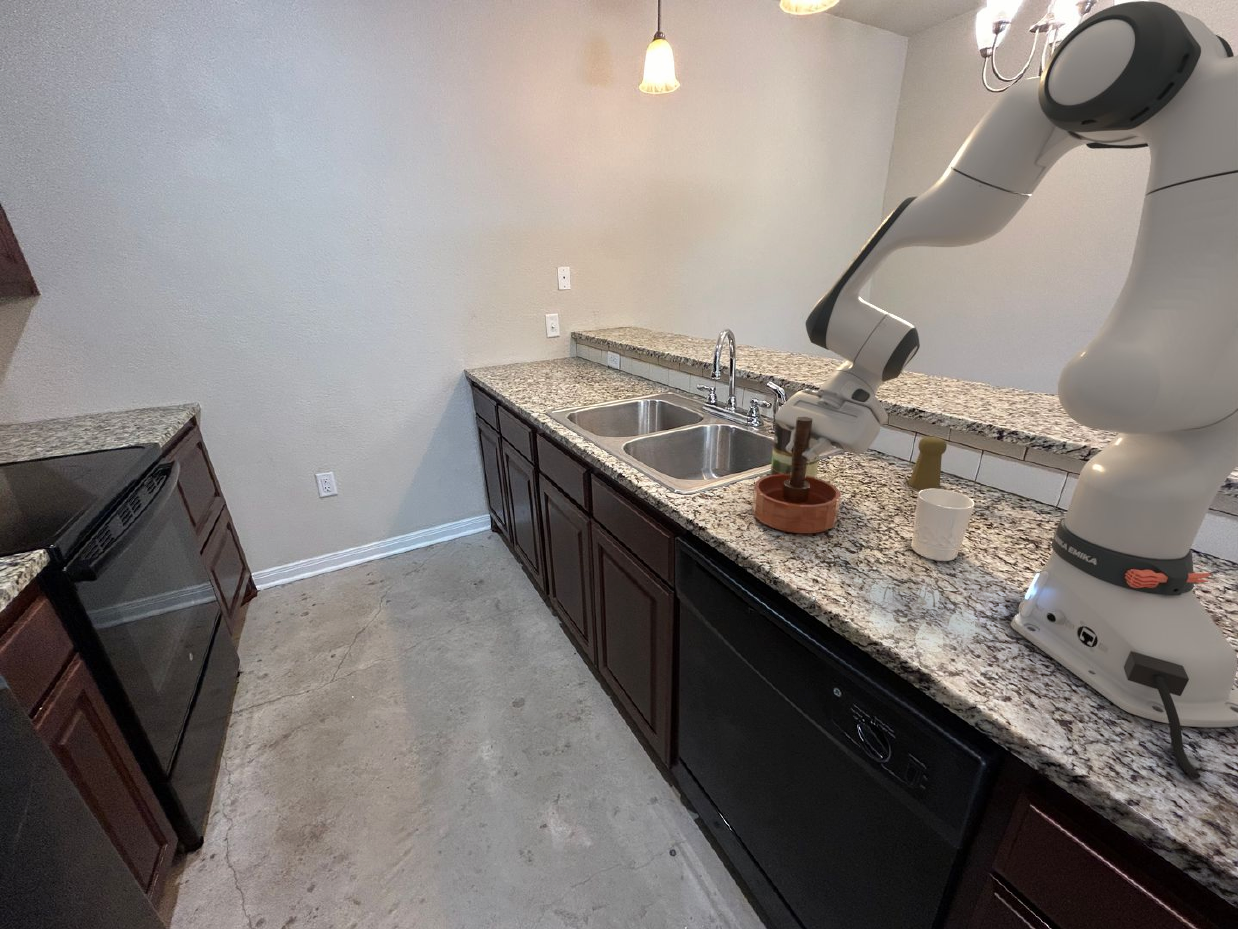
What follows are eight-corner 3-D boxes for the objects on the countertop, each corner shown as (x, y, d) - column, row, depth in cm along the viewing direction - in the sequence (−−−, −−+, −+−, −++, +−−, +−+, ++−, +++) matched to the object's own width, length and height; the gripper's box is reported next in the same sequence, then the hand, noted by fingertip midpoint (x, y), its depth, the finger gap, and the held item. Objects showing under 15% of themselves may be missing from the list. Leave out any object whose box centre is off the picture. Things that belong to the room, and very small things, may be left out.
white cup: (950, 569, 80) (964, 513, 76) (899, 550, 86) (910, 497, 82) (967, 552, 85) (982, 498, 81) (918, 535, 90) (929, 484, 87)
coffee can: (765, 485, 113) (771, 425, 107) (773, 469, 121) (779, 413, 116) (813, 492, 108) (821, 431, 103) (818, 476, 117) (826, 418, 112)
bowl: (849, 536, 91) (853, 506, 88) (762, 536, 91) (765, 506, 89) (820, 499, 105) (823, 473, 103) (745, 499, 106) (747, 473, 104)
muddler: (811, 503, 95) (822, 422, 89) (786, 503, 95) (795, 422, 89) (803, 492, 99) (813, 415, 93) (779, 492, 99) (787, 415, 93)
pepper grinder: (931, 480, 113) (941, 434, 109) (945, 491, 108) (956, 442, 104) (903, 479, 114) (912, 433, 110) (915, 490, 108) (925, 442, 104)
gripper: (794, 377, 101) (752, 431, 100) (883, 398, 83) (833, 463, 83) (808, 396, 104) (767, 448, 104) (896, 420, 87) (848, 482, 87)
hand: (797, 455), depth 93 cm, fingers closed on muddler, 3 cm apart
